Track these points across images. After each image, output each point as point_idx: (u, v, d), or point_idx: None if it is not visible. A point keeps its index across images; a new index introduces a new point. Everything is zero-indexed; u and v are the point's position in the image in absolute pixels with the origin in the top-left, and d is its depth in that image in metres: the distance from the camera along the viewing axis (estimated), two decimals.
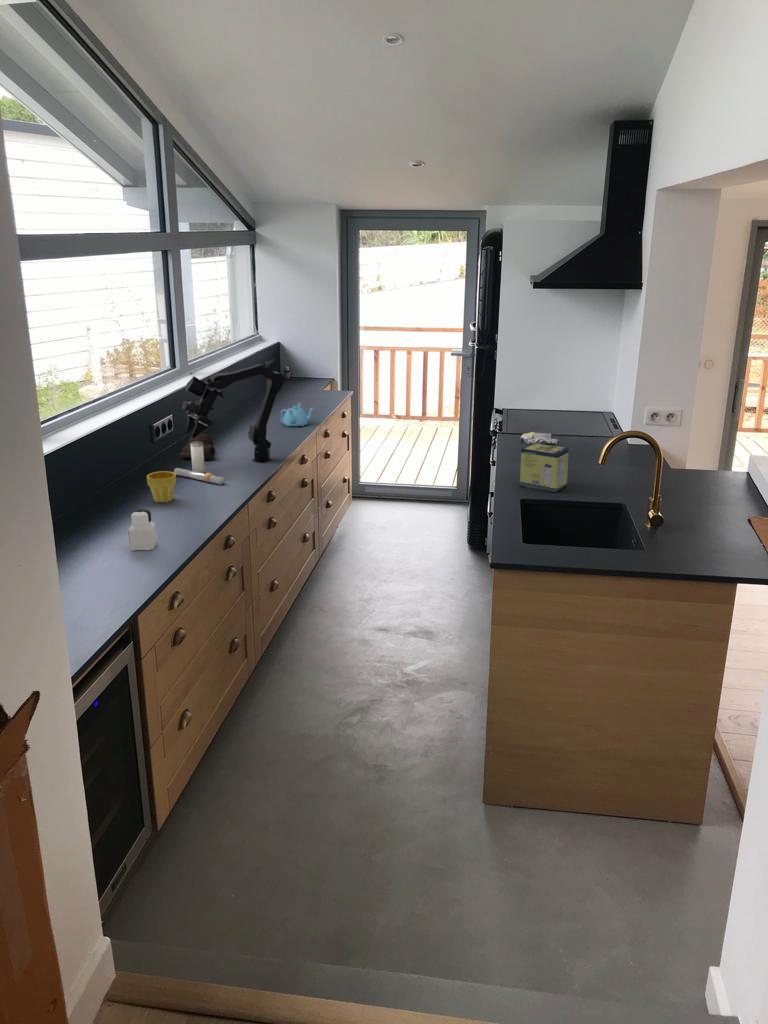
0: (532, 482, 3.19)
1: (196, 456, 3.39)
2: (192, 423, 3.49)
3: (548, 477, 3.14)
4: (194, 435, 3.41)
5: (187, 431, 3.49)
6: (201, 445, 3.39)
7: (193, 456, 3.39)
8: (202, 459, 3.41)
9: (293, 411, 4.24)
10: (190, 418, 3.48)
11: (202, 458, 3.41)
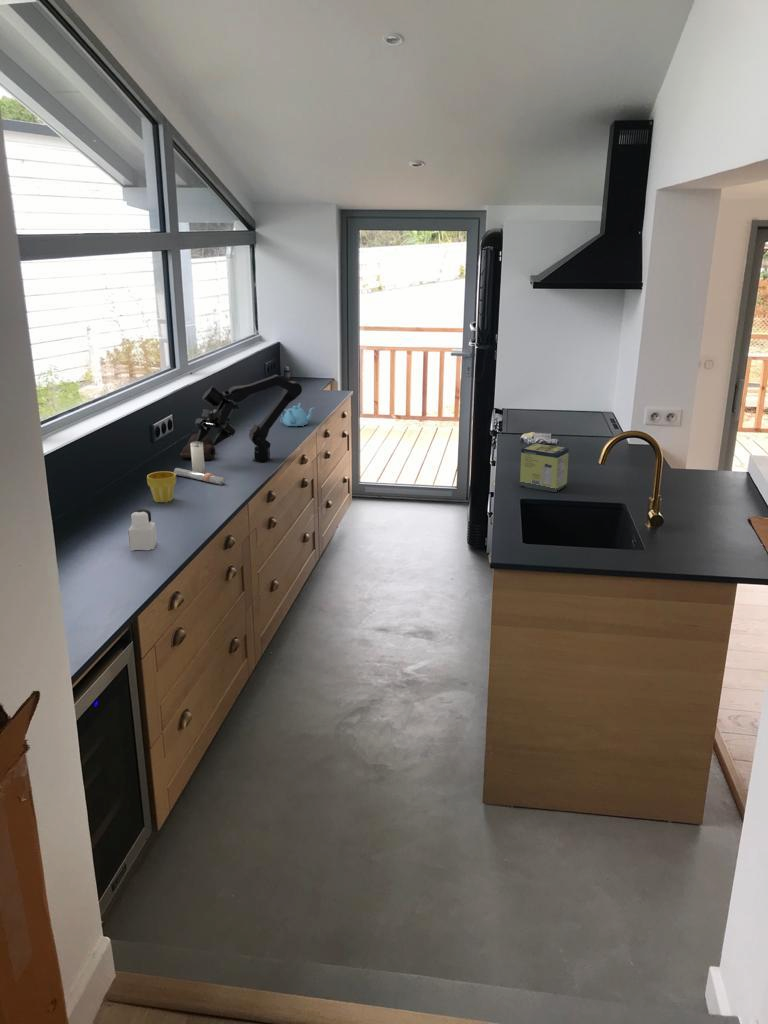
0: (532, 482, 3.19)
1: (196, 456, 3.39)
2: (203, 433, 3.49)
3: (548, 477, 3.14)
4: (215, 443, 3.42)
5: (198, 440, 3.47)
6: (201, 445, 3.39)
7: (193, 456, 3.39)
8: (202, 459, 3.41)
9: (293, 411, 4.24)
10: (202, 428, 3.48)
11: (202, 458, 3.41)
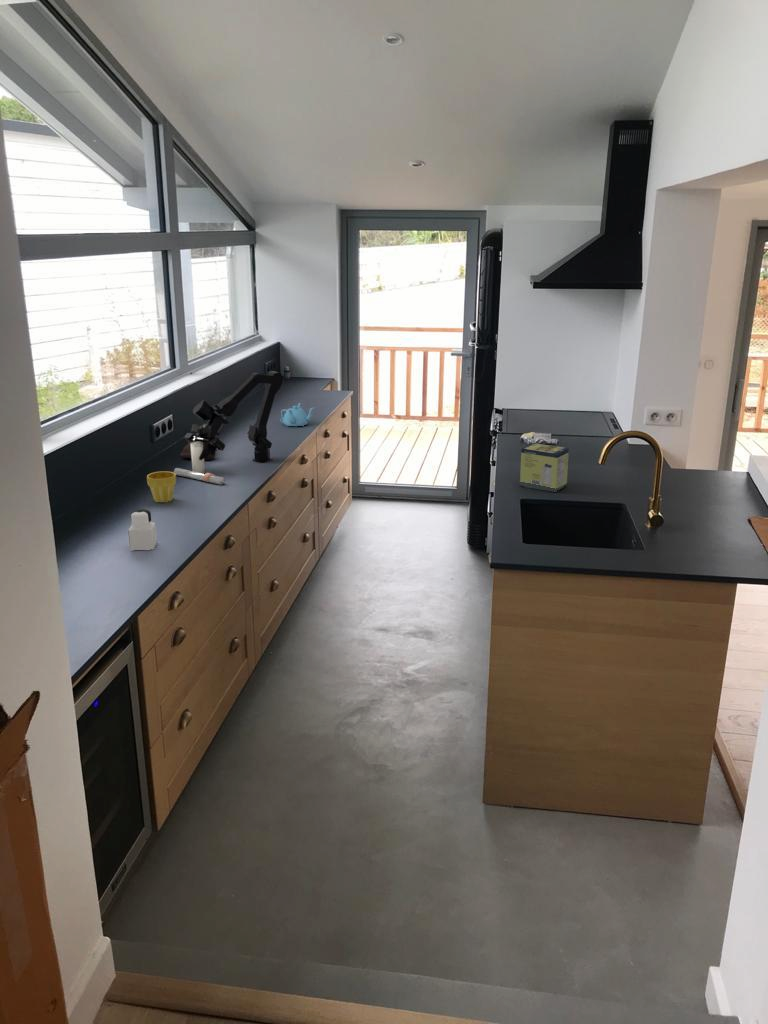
0: (532, 482, 3.19)
1: (196, 456, 3.39)
2: None
3: (548, 477, 3.14)
4: (202, 457, 3.39)
5: None
6: (201, 445, 3.39)
7: (193, 456, 3.39)
8: (202, 459, 3.41)
9: (293, 411, 4.24)
10: None
11: None
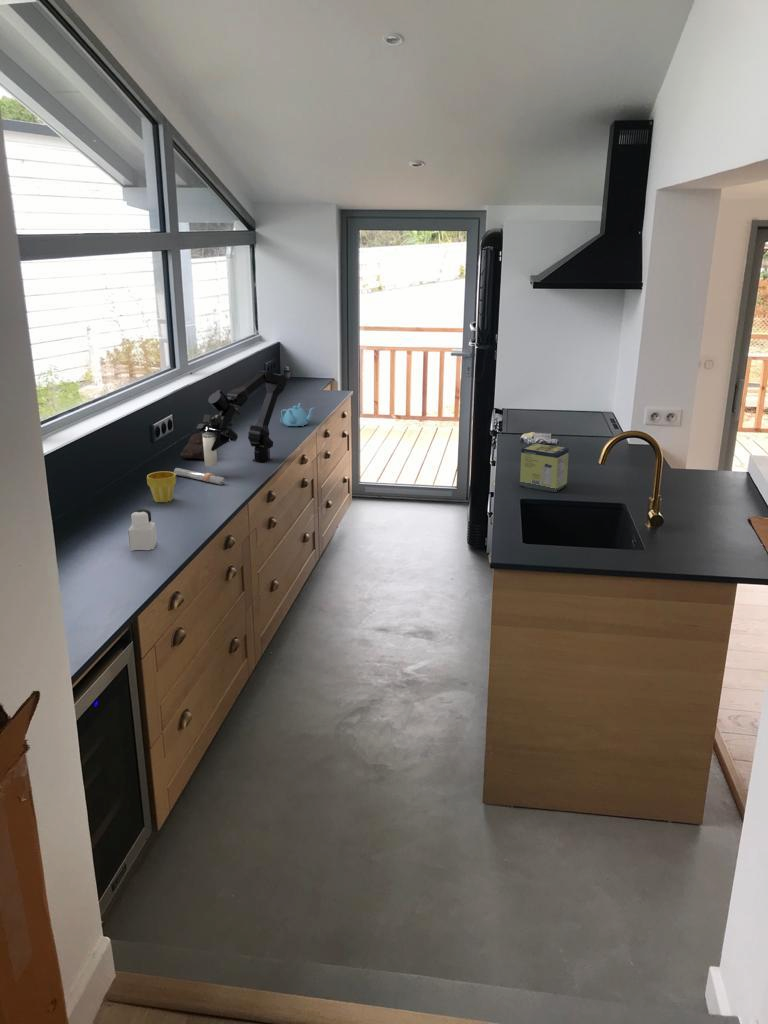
0: (532, 482, 3.19)
1: (209, 447, 3.34)
2: None
3: (548, 477, 3.14)
4: (214, 448, 3.34)
5: None
6: (213, 436, 3.33)
7: (205, 447, 3.34)
8: (214, 450, 3.35)
9: (293, 411, 4.24)
10: None
11: None
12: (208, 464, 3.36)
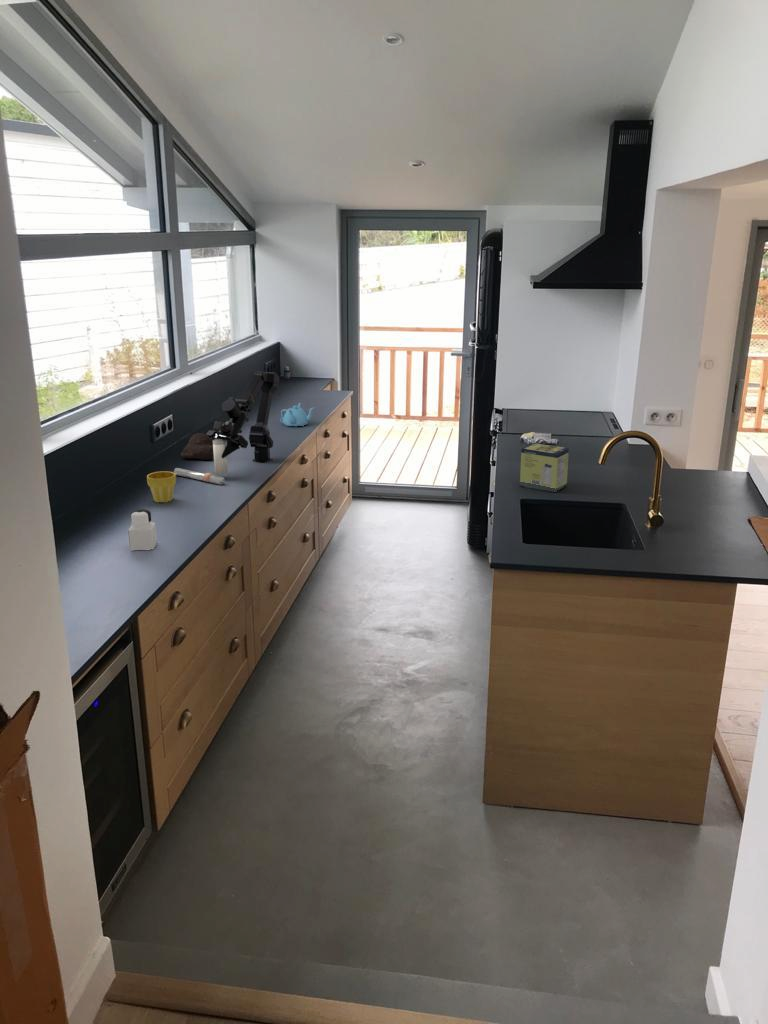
0: (532, 482, 3.19)
1: (219, 454, 3.31)
2: None
3: (548, 477, 3.14)
4: (224, 455, 3.32)
5: (213, 454, 3.34)
6: (224, 442, 3.31)
7: (215, 454, 3.32)
8: None
9: (293, 411, 4.24)
10: None
11: None
12: (218, 471, 3.34)
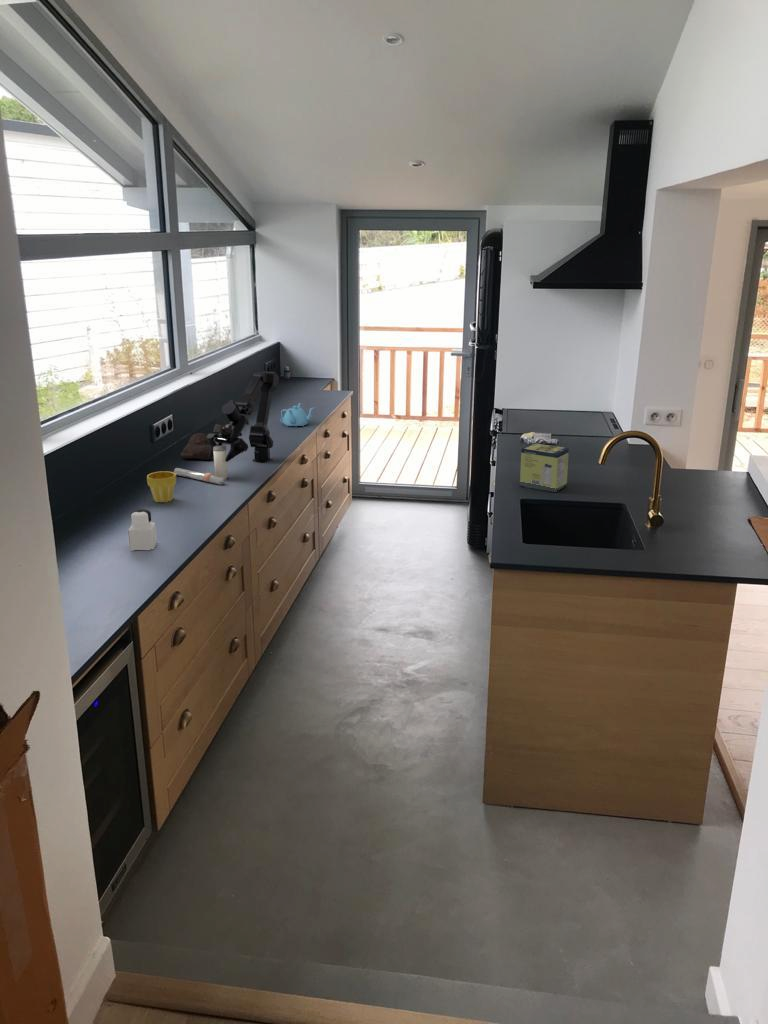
0: (532, 482, 3.19)
1: (219, 460, 3.32)
2: None
3: (548, 477, 3.14)
4: (228, 459, 3.31)
5: (210, 456, 3.36)
6: (224, 449, 3.32)
7: (216, 460, 3.32)
8: (225, 463, 3.34)
9: (293, 411, 4.24)
10: (213, 443, 3.37)
11: (225, 462, 3.34)
12: None
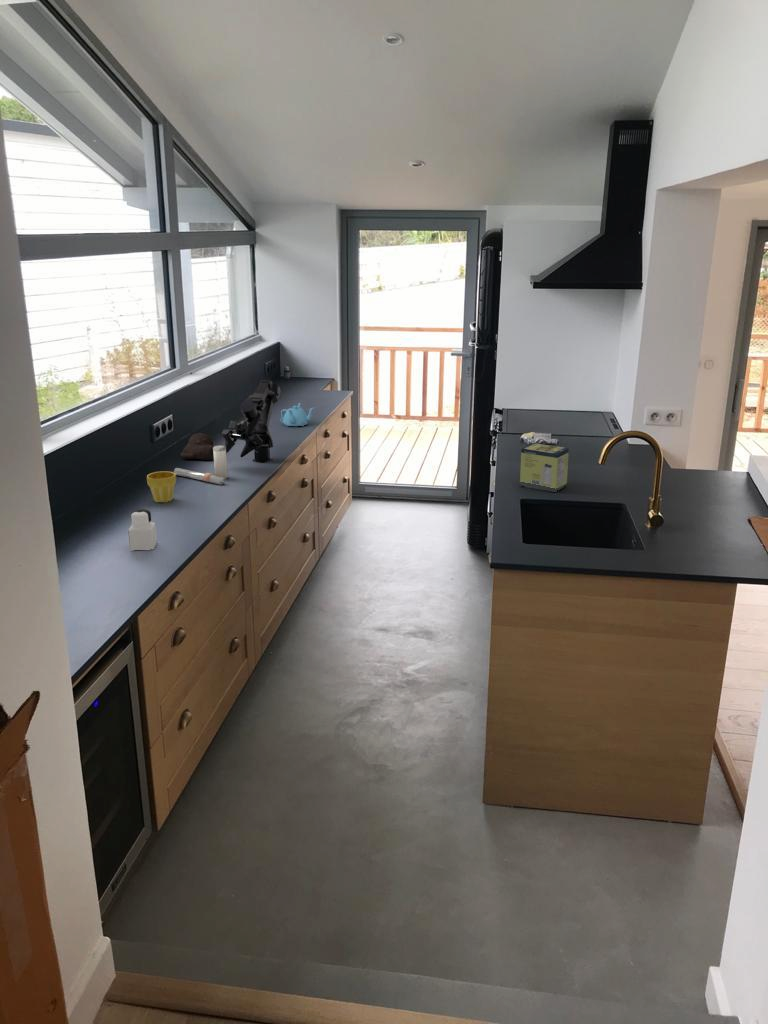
0: (532, 482, 3.19)
1: (219, 460, 3.32)
2: (230, 444, 3.45)
3: (548, 477, 3.14)
4: (243, 454, 3.38)
5: None
6: (224, 449, 3.32)
7: (216, 460, 3.32)
8: (225, 463, 3.34)
9: (293, 411, 4.24)
10: (229, 439, 3.44)
11: (225, 462, 3.34)
12: None
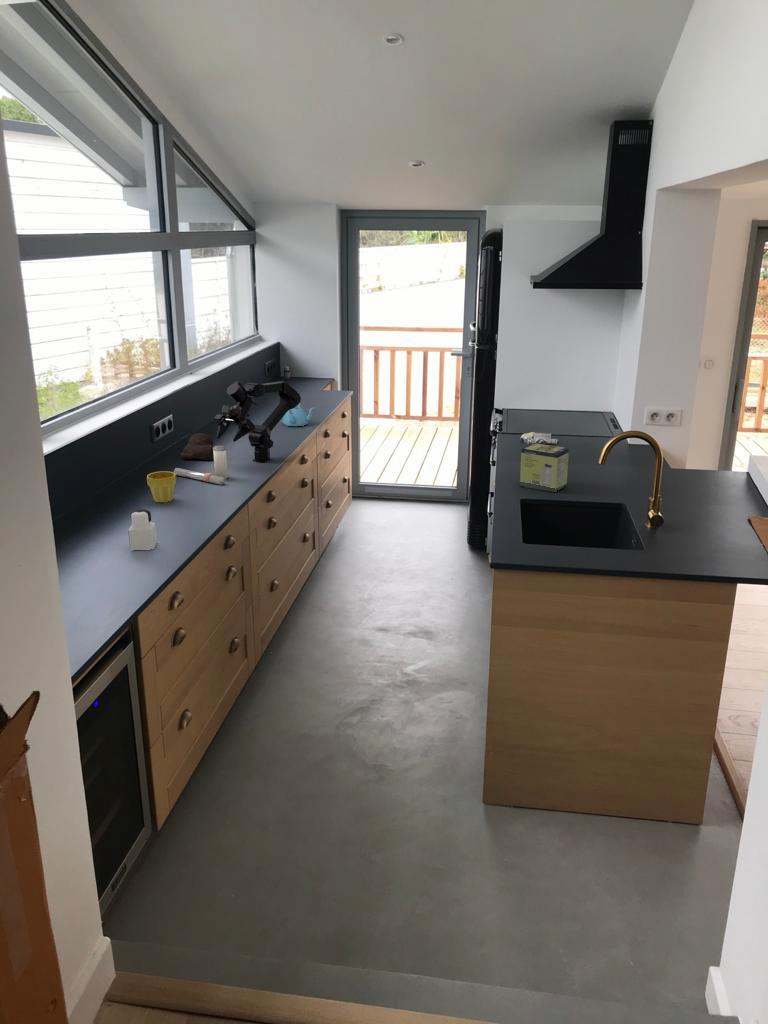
0: (532, 482, 3.19)
1: (219, 460, 3.32)
2: (222, 429, 3.46)
3: (548, 477, 3.14)
4: (235, 439, 3.40)
5: (218, 436, 3.45)
6: (224, 449, 3.32)
7: (216, 460, 3.32)
8: (225, 463, 3.34)
9: (293, 411, 4.24)
10: (221, 424, 3.46)
11: (225, 462, 3.34)
12: None
